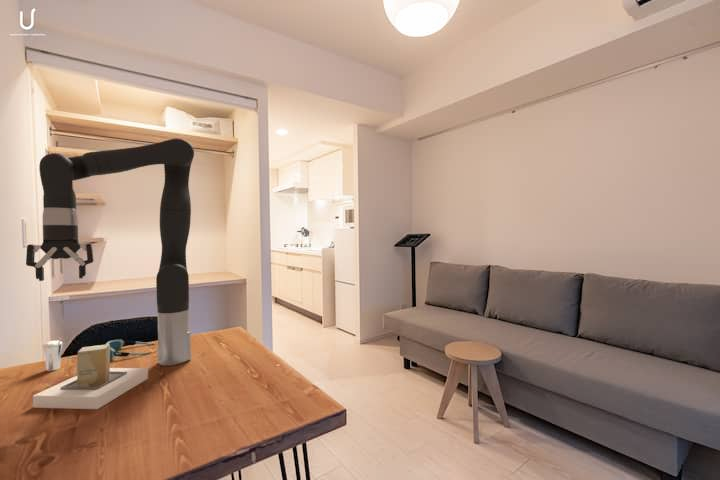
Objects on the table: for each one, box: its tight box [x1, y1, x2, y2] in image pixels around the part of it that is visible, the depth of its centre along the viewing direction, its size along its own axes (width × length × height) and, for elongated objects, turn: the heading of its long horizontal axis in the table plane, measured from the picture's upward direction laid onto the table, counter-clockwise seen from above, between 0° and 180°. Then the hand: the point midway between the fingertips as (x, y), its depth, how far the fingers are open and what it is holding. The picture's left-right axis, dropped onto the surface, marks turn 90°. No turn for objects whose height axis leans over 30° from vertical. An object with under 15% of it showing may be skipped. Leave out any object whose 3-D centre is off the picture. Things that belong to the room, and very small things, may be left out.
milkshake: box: [42, 338, 63, 372], centre depth 103 cm, size 4×5×10 cm
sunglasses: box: [105, 339, 156, 361], centre depth 118 cm, size 14×15×5 cm
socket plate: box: [32, 367, 149, 410], centre depth 87 cm, size 17×17×3 cm
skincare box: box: [76, 344, 111, 387], centre depth 87 cm, size 6×4×12 cm
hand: (61, 279), depth 94 cm, fingers open, 8 cm apart
